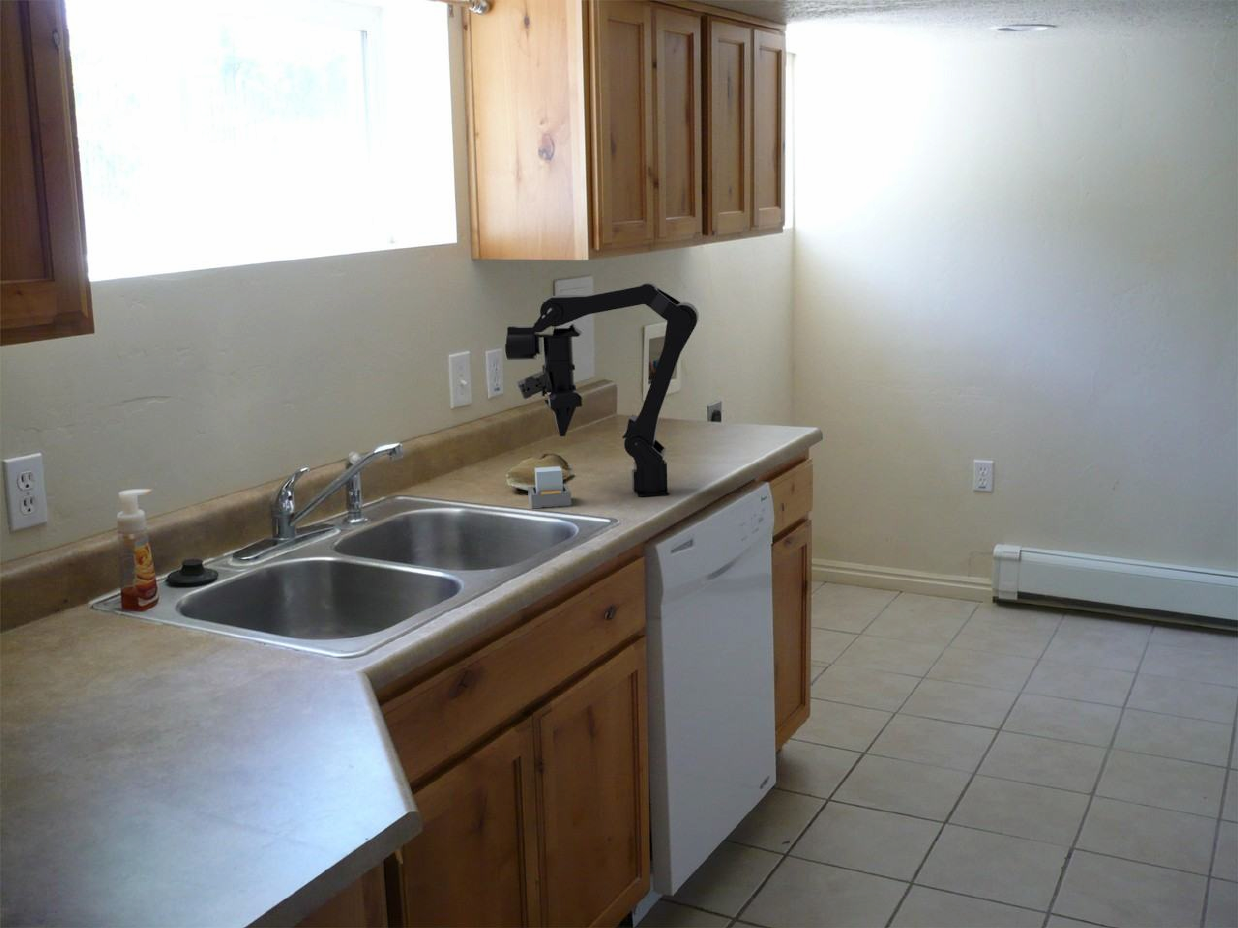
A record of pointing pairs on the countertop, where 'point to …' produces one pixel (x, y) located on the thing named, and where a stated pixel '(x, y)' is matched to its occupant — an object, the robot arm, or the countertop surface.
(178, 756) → the countertop surface
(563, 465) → the stone tool
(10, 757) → the countertop surface
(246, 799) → the countertop surface
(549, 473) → the pale blue upright block
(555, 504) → the rack
